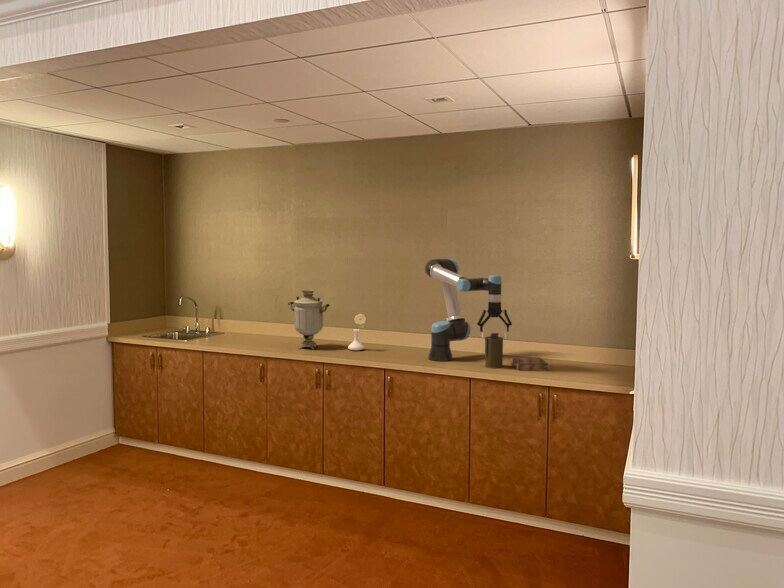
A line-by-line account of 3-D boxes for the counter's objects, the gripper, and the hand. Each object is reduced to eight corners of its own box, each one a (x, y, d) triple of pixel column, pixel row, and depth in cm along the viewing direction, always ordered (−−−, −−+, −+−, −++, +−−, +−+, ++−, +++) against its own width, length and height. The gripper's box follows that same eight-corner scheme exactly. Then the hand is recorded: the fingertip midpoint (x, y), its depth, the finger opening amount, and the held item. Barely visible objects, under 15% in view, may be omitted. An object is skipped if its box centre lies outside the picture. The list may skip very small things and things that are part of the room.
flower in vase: (345, 350, 406) (345, 314, 404) (351, 347, 417) (351, 312, 415) (363, 352, 402) (363, 314, 400) (369, 349, 413) (369, 312, 411)
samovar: (340, 346, 423) (339, 289, 419) (316, 352, 400) (315, 292, 397) (307, 342, 438) (306, 287, 435) (282, 347, 416) (281, 290, 413)
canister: (497, 364, 364) (498, 331, 363) (505, 367, 355) (506, 334, 353) (481, 365, 361) (481, 332, 359) (489, 368, 351) (490, 335, 349)
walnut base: (518, 370, 347) (518, 363, 347) (510, 364, 365) (510, 357, 365) (548, 370, 348) (549, 363, 347) (540, 363, 366) (540, 357, 365)
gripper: (474, 302, 350) (474, 338, 352) (517, 302, 351) (516, 338, 353) (472, 301, 357) (472, 336, 359) (514, 300, 358) (513, 336, 360)
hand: (494, 337), depth 356 cm, fingers open, 13 cm apart
